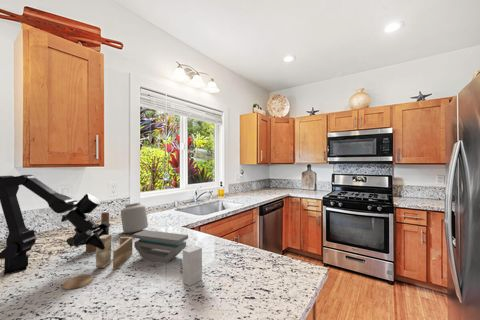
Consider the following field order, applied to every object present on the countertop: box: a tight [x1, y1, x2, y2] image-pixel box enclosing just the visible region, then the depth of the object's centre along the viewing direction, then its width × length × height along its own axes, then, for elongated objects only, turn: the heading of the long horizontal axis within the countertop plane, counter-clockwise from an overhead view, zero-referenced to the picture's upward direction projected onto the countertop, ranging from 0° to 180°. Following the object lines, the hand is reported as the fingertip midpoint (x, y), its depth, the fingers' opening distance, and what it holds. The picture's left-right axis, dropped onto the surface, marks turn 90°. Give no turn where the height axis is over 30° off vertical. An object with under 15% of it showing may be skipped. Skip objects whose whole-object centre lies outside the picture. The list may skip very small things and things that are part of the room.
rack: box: [112, 236, 134, 271], centre depth 99 cm, size 6×17×8 cm, turn 4°
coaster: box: [61, 274, 94, 291], centre depth 80 cm, size 9×9×1 cm
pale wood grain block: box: [95, 234, 112, 269], centre depth 94 cm, size 4×5×12 cm
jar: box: [120, 202, 149, 234], centre depth 143 cm, size 19×15×25 cm
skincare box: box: [182, 245, 203, 287], centre depth 82 cm, size 6×4×12 cm
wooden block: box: [85, 211, 110, 253], centre depth 114 cm, size 4×11×18 cm, turn 158°
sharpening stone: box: [132, 229, 189, 264], centre depth 102 cm, size 25×8×11 cm, turn 71°
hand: (107, 246), depth 94 cm, fingers closed on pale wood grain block, 5 cm apart
